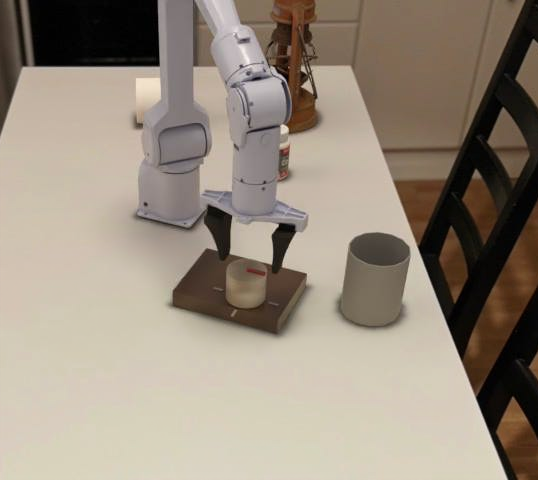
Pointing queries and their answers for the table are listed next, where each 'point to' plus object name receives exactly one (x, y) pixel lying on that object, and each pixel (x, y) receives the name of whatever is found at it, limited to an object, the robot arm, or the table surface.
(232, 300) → the rotary knob
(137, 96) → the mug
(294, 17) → the lantern
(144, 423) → the table surface
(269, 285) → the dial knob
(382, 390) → the table surface
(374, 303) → the cup
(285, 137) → the pill bottle
